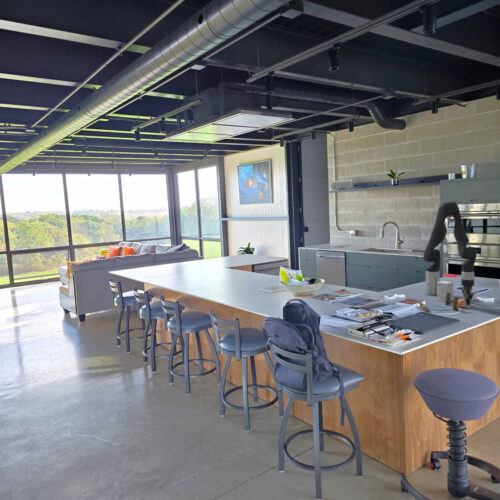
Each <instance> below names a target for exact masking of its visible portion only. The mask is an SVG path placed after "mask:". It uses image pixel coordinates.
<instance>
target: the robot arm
mask: <svg viewBox="0 0 500 500" xmlns="http://www.w3.org/2000/svg"><path fill="white" fill-rule="evenodd" d="M447 217H452V218H453V221H454V226H453V236H454V239H455V242H456V244H457V251H458V256H459V257H460V258H461V259H464V260H465V261H464V262H462V263H461V274H460V278H461V279H460V283H461V286H462V288H461V291H462V296H463V298H464V300H465V301H466V303H467V304H466V306H470V304H471V300H472V299H473V296H475V295H474V294H475V293H474V292H473V287H474V286H475V263H476V259H477V255H478V252H477V250H476V249H475V247H473V246H470V247H467V245H468V244H469V242H470V241H469V238H468V235H467V233H466V231H465V228H464V227H465V226H464V224H463V220H462V216H461V212H460V207H459V205H458V203H457V202H455V201H449V202H444V203H441V204H439V207H438V209H437V213H436V219H435V222H434V225H433V229H432V230H431V234H430V238H429V241H428V243H427V245H426V247H425V249H424V251H423V255H422V258H423V261H425V262H426V263H427V262H428V263H431V264H429V265H426V267H425V295H427V296H437V282H440V268H441V261H442V260H441V257H442V254H441V251H440V249H438V248H436V247H438V246H439V245H440V244H441V243H443V242H444V241H445V238H446V236H447V233H448V229H447V226H446V224H445V221H446V219H447Z"/></svg>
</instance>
